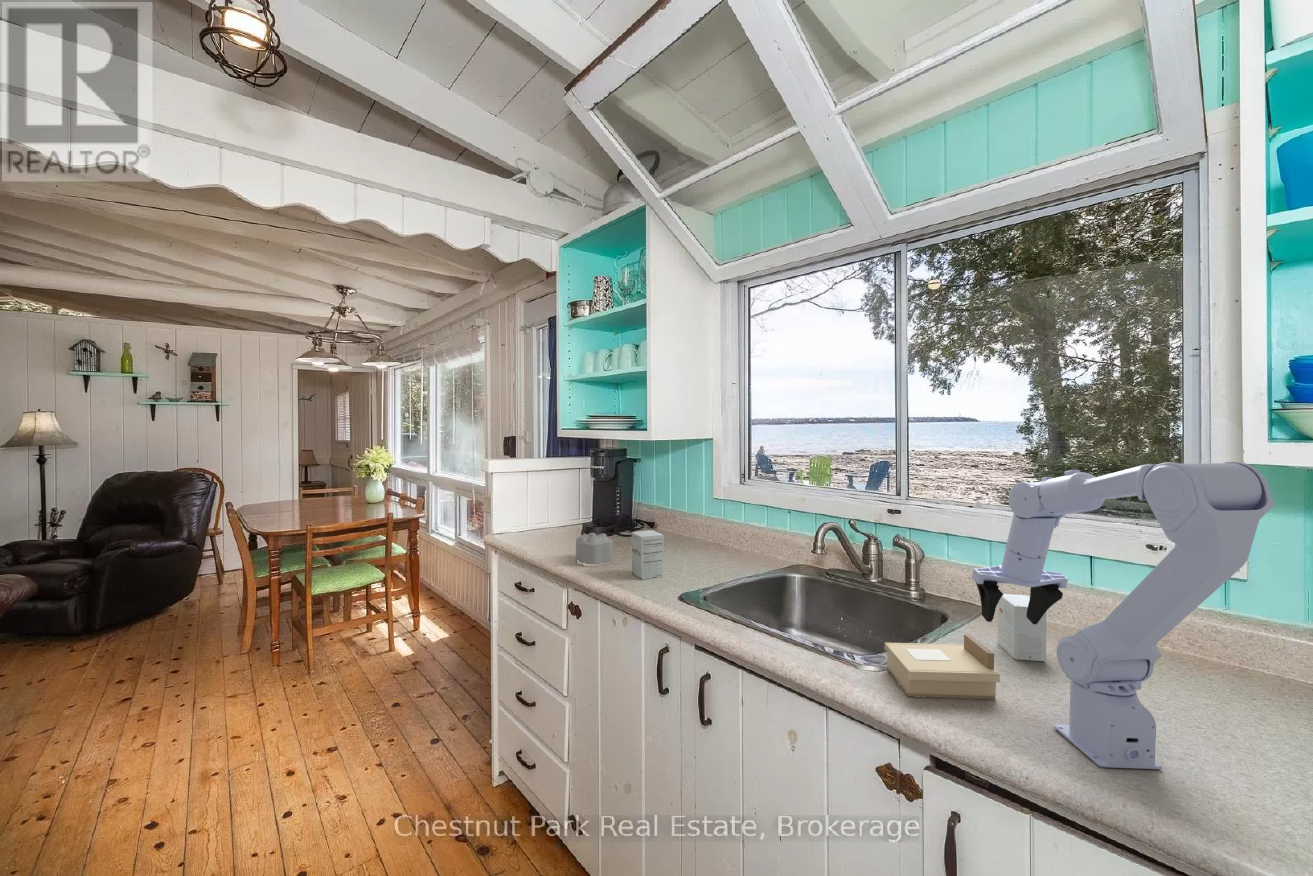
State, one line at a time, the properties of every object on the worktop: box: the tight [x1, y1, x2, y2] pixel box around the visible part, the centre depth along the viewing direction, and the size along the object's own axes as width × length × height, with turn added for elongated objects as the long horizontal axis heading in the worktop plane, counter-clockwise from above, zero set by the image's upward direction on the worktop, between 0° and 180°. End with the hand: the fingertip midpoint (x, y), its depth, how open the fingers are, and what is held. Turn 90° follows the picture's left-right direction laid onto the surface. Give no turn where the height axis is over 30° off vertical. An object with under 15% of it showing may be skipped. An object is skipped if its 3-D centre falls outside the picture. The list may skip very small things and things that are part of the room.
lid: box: [884, 633, 1001, 683], centre depth 95 cm, size 12×14×4 cm
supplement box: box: [631, 529, 664, 580], centre depth 161 cm, size 7×7×13 cm
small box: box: [997, 593, 1048, 662], centre depth 108 cm, size 8×6×10 cm
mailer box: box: [886, 648, 997, 701], centre depth 96 cm, size 10×14×4 cm
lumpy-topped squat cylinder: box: [575, 532, 614, 564], centre depth 177 cm, size 10×13×9 cm
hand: (1009, 619), depth 96 cm, fingers open, 7 cm apart
